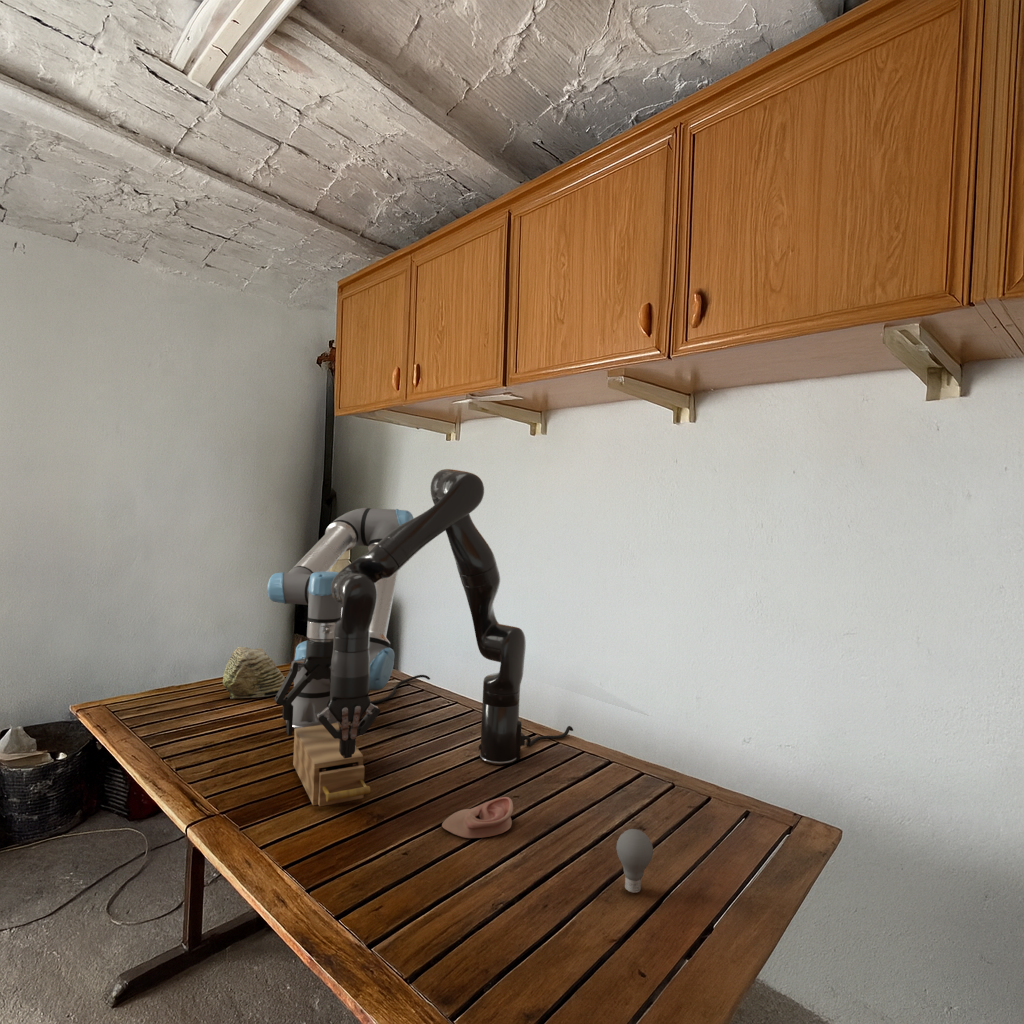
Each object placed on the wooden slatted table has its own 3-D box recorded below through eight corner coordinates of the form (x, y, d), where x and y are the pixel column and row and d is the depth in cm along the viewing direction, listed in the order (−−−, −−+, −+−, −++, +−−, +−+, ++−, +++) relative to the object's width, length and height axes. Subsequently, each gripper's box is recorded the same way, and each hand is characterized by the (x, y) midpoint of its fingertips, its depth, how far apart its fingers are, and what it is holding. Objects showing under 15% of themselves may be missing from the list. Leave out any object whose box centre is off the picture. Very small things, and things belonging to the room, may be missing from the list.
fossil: (218, 695, 195) (220, 647, 195) (278, 685, 208) (279, 640, 207) (228, 703, 189) (230, 653, 188) (289, 692, 201) (290, 645, 201)
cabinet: (361, 796, 135) (363, 756, 135) (312, 805, 130) (314, 764, 130) (336, 757, 154) (338, 722, 154) (293, 764, 149) (294, 728, 149)
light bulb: (610, 879, 108) (613, 822, 108) (644, 879, 109) (647, 822, 109) (619, 902, 102) (622, 840, 102) (655, 901, 103) (658, 840, 103)
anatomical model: (437, 813, 121) (454, 787, 132) (436, 833, 121) (454, 805, 132) (505, 823, 118) (517, 795, 129) (504, 844, 118) (516, 815, 129)
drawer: (371, 809, 127) (372, 777, 127) (325, 818, 123) (326, 785, 123) (338, 760, 150) (340, 733, 149) (299, 767, 145) (300, 739, 145)
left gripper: (269, 645, 138) (265, 742, 138) (380, 638, 150) (376, 727, 150) (264, 638, 145) (260, 731, 145) (371, 632, 157) (367, 717, 157)
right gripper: (320, 679, 120) (317, 769, 121) (388, 672, 127) (384, 758, 127) (312, 669, 127) (309, 754, 127) (376, 663, 133) (373, 744, 134)
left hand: (319, 729), depth 147 cm, fingers open, 13 cm apart
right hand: (346, 756), depth 127 cm, fingers closed
